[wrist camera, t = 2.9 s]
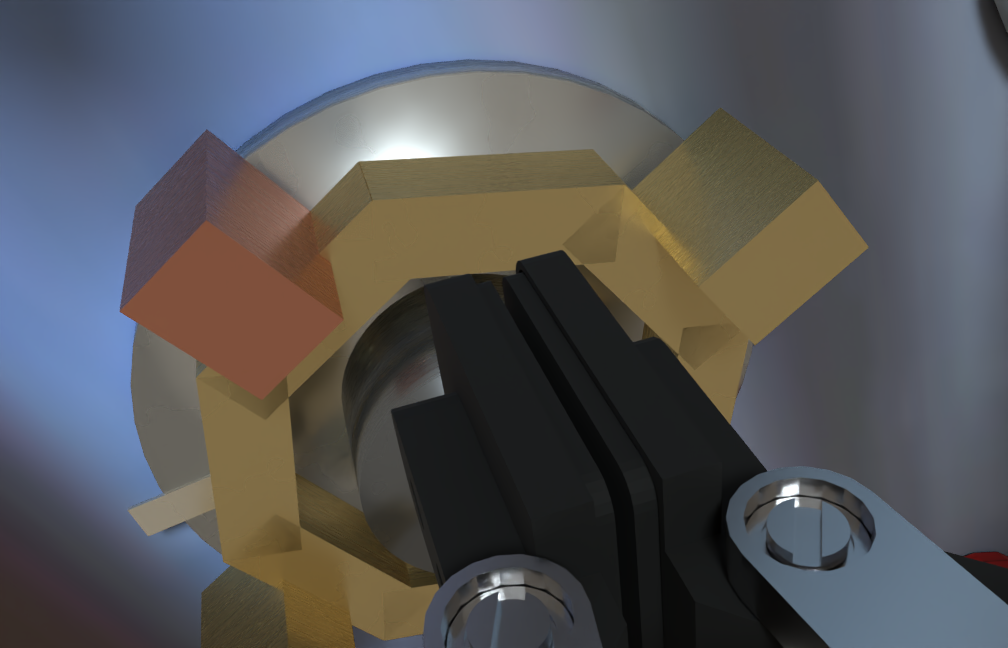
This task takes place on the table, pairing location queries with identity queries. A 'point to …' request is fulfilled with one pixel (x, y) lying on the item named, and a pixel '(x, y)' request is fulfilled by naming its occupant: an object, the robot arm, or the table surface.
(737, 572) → the robot arm
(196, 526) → the flange
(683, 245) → the locking ring
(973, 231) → the table surface
